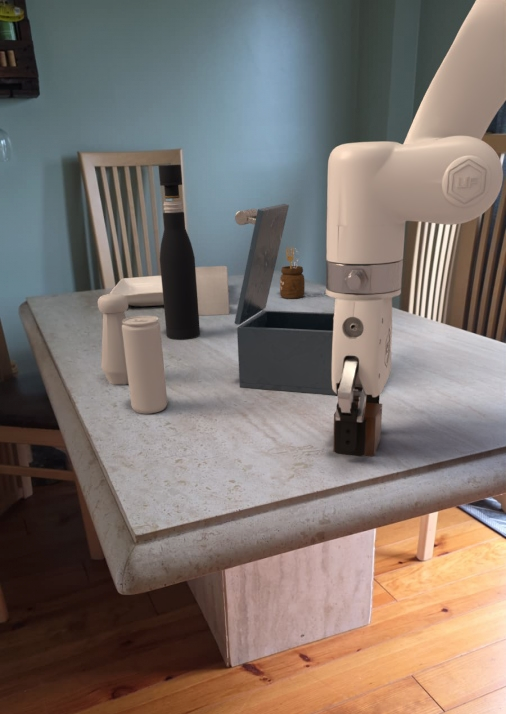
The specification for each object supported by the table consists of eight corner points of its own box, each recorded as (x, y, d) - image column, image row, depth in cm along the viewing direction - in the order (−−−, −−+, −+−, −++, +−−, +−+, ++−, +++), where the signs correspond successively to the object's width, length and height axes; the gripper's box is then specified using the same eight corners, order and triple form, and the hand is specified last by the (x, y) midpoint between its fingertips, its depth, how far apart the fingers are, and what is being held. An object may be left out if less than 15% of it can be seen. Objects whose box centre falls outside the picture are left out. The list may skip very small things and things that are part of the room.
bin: (354, 371, 96) (356, 313, 92) (338, 395, 86) (339, 332, 82) (264, 364, 100) (263, 310, 97) (239, 387, 90) (236, 327, 87)
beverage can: (167, 413, 82) (158, 323, 77) (130, 416, 81) (118, 325, 76) (168, 401, 86) (160, 314, 81) (133, 403, 86) (123, 316, 81)
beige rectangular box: (228, 314, 136) (226, 267, 132) (198, 315, 136) (194, 268, 132) (229, 310, 140) (227, 264, 135) (199, 312, 140) (196, 266, 135)
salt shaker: (142, 373, 98) (132, 290, 93) (142, 384, 93) (132, 296, 88) (104, 376, 97) (92, 292, 92) (102, 388, 92) (90, 299, 87)
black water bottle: (172, 341, 116) (156, 165, 104) (162, 334, 122) (146, 165, 109) (204, 336, 119) (193, 164, 106) (193, 329, 124) (181, 164, 112)
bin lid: (289, 204, 89) (258, 196, 90) (263, 210, 79) (229, 200, 80) (265, 308, 96) (237, 299, 97) (239, 325, 87) (208, 314, 87)
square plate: (226, 305, 145) (226, 288, 143) (108, 311, 143) (106, 294, 142) (223, 286, 169) (223, 271, 168) (123, 290, 168) (121, 276, 166)
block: (380, 440, 71) (382, 403, 69) (373, 456, 68) (375, 417, 66) (341, 436, 73) (342, 400, 71) (333, 451, 69) (333, 414, 67)
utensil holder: (306, 294, 154) (306, 244, 149) (302, 299, 149) (302, 247, 144) (282, 294, 155) (282, 244, 150) (278, 299, 150) (277, 247, 145)
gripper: (388, 296, 54) (378, 476, 61) (411, 266, 69) (401, 414, 76) (304, 293, 56) (304, 467, 64) (344, 265, 71) (340, 409, 78)
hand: (357, 437), depth 70 cm, fingers open, 7 cm apart
